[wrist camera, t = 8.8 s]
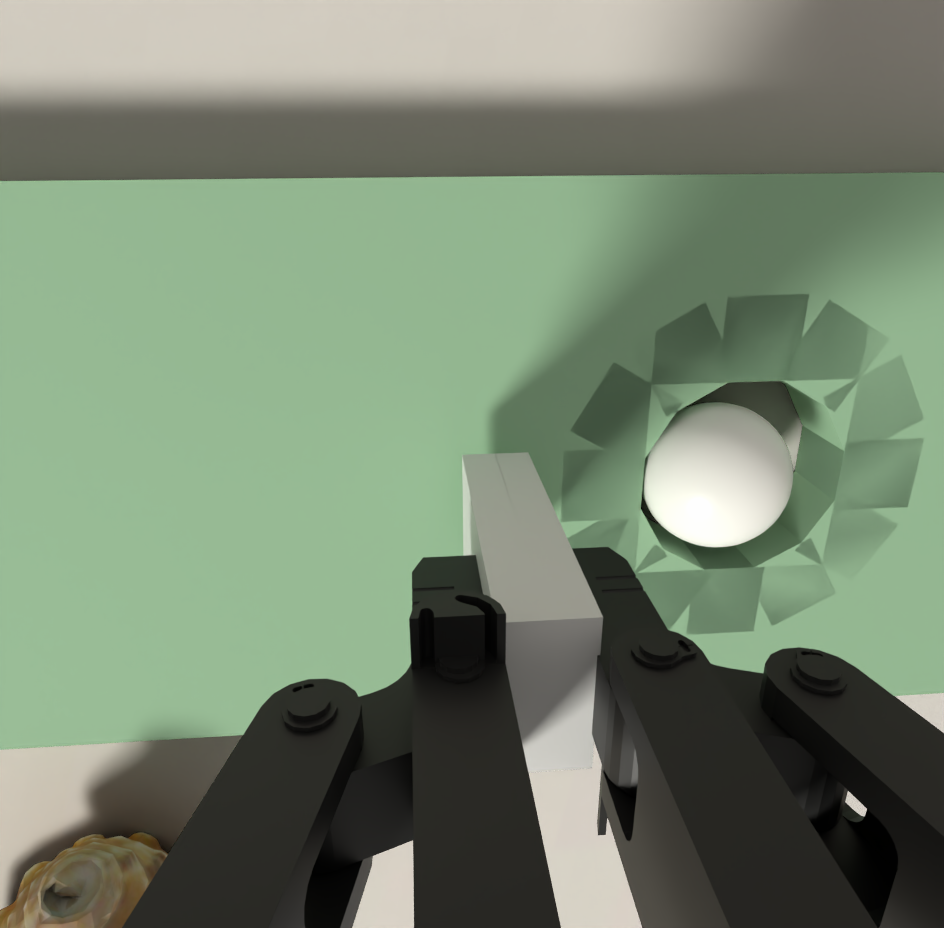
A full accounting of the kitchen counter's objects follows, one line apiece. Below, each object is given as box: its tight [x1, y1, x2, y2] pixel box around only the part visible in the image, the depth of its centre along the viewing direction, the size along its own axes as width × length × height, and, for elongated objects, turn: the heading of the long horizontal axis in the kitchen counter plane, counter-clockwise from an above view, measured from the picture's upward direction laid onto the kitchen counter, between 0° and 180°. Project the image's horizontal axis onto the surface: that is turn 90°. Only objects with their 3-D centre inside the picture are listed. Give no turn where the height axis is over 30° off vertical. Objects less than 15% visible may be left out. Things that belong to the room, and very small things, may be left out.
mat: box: [0, 172, 944, 750], centre depth 18 cm, size 28×14×2 cm, turn 90°
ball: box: [642, 402, 793, 547], centre depth 17 cm, size 4×4×4 cm
